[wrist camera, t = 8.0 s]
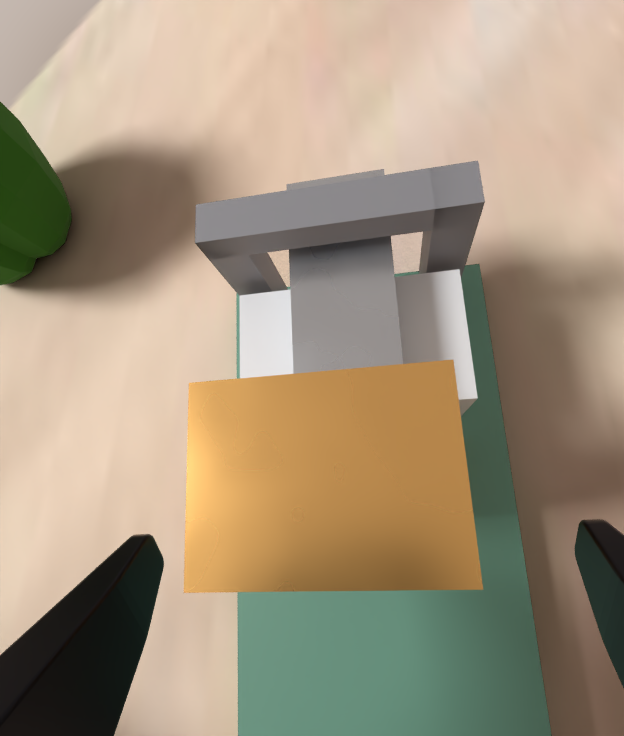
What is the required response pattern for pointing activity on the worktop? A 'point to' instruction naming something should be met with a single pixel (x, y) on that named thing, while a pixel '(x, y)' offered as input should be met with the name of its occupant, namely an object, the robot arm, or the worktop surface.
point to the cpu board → (485, 470)
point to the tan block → (332, 449)
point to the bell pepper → (27, 202)
